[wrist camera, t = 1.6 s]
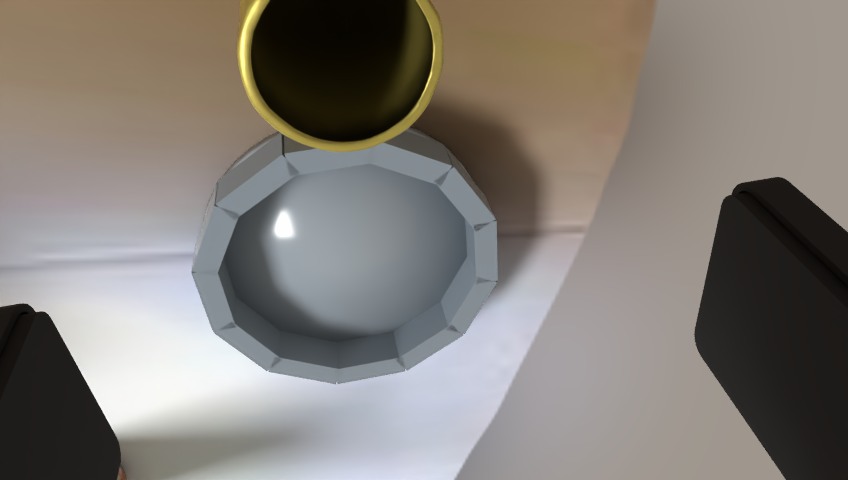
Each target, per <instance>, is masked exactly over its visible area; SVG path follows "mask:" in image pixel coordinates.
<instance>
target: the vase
mask: <svg viewBox="0 0 848 480" xmlns="http://www.w3.org/2000/svg"><path fill="white" fill-rule="evenodd" d="M237 58H238V66H239V70H240V74H241V78H242V82H243V85H244V88H245V91H246V93H247V95H248V98H249V100H250V101H251V103H252V105H253V107H254V108H255V109H256V110H257V112H258V113H259V114H260V115H261V116H262V117H263V118H264V119H265V120H266V121H267V122H268V123H269V124H270V125H272V126H273V127H274V128H275V129H276V130H278V131H279V132H280V133H282V134H283V135H285V136H287V137H289V138H290V139H293V140H295V141H297V142H299V143H301V144H304V145H307V146H310V147H313V148H317V149H320V150H325V151H331V152H351V151H359V150H365V149H368V148H372V147H375V146H377V145H379V144H381V143H384V142H386V141H388V140H390V139H392V138H394V137H396V136H397V135H399V134H401V133H402V132H404V131H405V130H407V129H408V128H409V127H410V126H411V125H412V124H413V123H414V122H415V121H416V120H417V119H418V118H419V117H420V115H421V114H422V113H423V112H424V110H425V109H426V107H427V106H428V104H429V102H430V100H431V98H432V95H433V93H434V90H435V88H436V86H437V83H438V80H439V77H440V74H441V71H442V66H443V32H442V25H441V20H440V16H439V14H438V12H437V11H436V9H435V7H434V6H433V4H432V3H431V1H430V0H240V20H239V29H238V38H237Z"/></svg>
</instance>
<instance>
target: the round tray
mask: <svg viewBox="0 0 848 480" xmlns="http://www.w3.org/2000/svg"><path fill="white" fill-rule="evenodd" d="M192 276H193V278H194V281H195V284H196V287H197V289H198V292H199V295H200V297H201V300H202V303H203V306H204V308H205V311H206V314H207V316H208V319H209V322H210V325H211V327H212V330H213V332H214V333H215V334H216V335H218V336H219V337H220V338H222V339H223V340H225V341H226V342H227V343H229V344H230V345H231V346H233V347H234V348H236V349H237V350H238V351H240V352H241V353H243V354H244V355H245V356H247V357H248V358H249V359H251V360H252V361H254V362H255V363H256V364H258V365H259V366H261V367H262V368H263V369H265V370H266V371H267V370H269V372H273V373H278V374H284V375H289V376H295V377H300V378H306V379H311V380H317V381H322V382H327V383H333V384H336V382H337V383H338V384H340V383H345V382H351V381H356V380H361V379H367V378H372V377H377V376H382V375H388V374H393V373H398V372H403V371H405V369H406V370H409V369H410V368H412V367H413V366H415V365H417V364H418V363H420V362H421V361H423V360H425V359H426V358H428V357H429V356H431V355H433V354H434V353H436V352H437V351H439V350H441V349H442V348H444V347H445V346H447V345H449V344H450V343H452V342H453V341H455V340H457V339H458V338H460V337H461V336H463V334H465V333H466V331H467V329H468V328H469V326H470V325H471V323H472V321H473V320H474V318H475V317H476V315H477V314H478V312H479V310H480V309H481V307H482V306H483V304H484V303H485V301H486V299H487V298H488V296H489V295H490V293H491V291H492V290H493V288H494V287H495V285H496V284H497V281H498V262H497V221H496V218H495V216H494V214H493V212H492V209H491V207H490V205H489V203H488V201H487V199H486V197H485V195H484V194H483V193H482V191H481V190H480V189H479V188H478V186H477V185H476V184H475V183H474V181H473V180H472V178H471V176H470V175H469V173H468V172H467V170H466V169H465V167H464V166H463V164H462V163H461V162H460V161H459V160H458V159H457V158H456V157H455V155H454V154H453V153H452V152H451V151H449V150H448V149H447V147H446V146H444V145H443V144H442V143H440V142H438V141H437V140H435V139H434V138H432V137H430V136H428V135H427V134H425V133H423V132H422V131H419V130H417V129H415V128H412V127H409V128H408V129H407V130H405V131H404V132H402V133H401V134H399V135H397V136H396V137H394V138H392V139H390V140H388V141H386V142H384V143H381V144H379V145H377V146H375V147H372V148H368V149H365V150H359V151H351V152H331V151H325V150H320V149H317V148H313V147H310V146H307V145H304V144H301V143H299V142H297V141H295V140H293V139H290V138H289V137H287V136H285V135H283V134H282V133H280V132H277V133H275V134H273V135H271V136H269V137H267V138H265V139H263V140H262V141H260V142H259V143H257V144H256V145H254V146H253V147H251V148H250V149H249V150H248V151H246V152H245V153H244V154H243V155H242V156H241V157H240V158H238V159H237V160H236V161H235V162H234V163H233V165H232V166H231V167H230V168H229V169H228V170H227V171H226V173H225V174H224V175H223V177H222V178H220V179H219V180H218V182H217V184H216V187H215V189H214V191H213V193H212V196H211V198H210V200H209V203H208V205H207V208H206V212H205V216H204V220H203V224H202V227H201V230H200V233H199V236H198V239H197V242H196V245H195V252H194V258H193V265H192Z"/></svg>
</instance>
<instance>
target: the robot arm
mask: <svg viewBox="0 0 848 480" xmlns="http://www.w3.org/2000/svg"><path fill="white" fill-rule="evenodd" d="M695 342H696V346H697V349H698V351H699V353H700V355H701V357H702V358H703V360H704V361H705V363H706V364H707V365H708V367H709V368H710V370H711V371H712V373H713V374H714V376H715V377H716V378H717V380H718V381H719V383H720V384H721V386H722V387H723V388H724V390H725V392H726V393H727V395H728V396H729V397H730V399H731V400H732V402H733V403H734V405H735V406H736V408H737V409H738V410H739V412H740V413H741V415H742V416H743V418H744V419H745V421H746V422H747V424H748V425H749V426H750V428H751V429H752V431H753V432H754V434H755V435H756V436H757V438H758V440H759V441H760V442H761V444H762V445H763V447H764V448H765V450H766V451H767V452H768V454H769V456H770V457H771V458H772V460H773V461H774V463H775V464H776V466H777V467H778V469H779V470H780V471H781V473H782V474H783V476H784V477H785V479H786V480H848V232H847V231H846V230H844V229H843V228H842V227H841V226H839V224H837V223H836V222H835V221H834V220H833V219H832V218H830V217H829V216H828V215H827V214H826V213H824V211H822V210H821V209H820V208H819V207H818V206H816V205H815V204H814V203H813V202H812V201H811V200H810V199H808V198H807V197H806V196H805V195H804V194H803V193H801V192H800V191H799V190H798V189H797V188H796V187H794V186H793V185H792V184H791V183H790V182H789V181H787V180H786V179H784V178H780V177H775V178H769V179H763V180H757V181H751V182H745V183H741V184H738V185H737V186H736V187H735V188H734V190H733V192H732V195H729V196H727V197H726V198H725V199H724V200H723V202H722V205H721V210H720V215H719V219H718V224H717V228H716V234H715V238H714V243H713V247H712V252H711V257H710V261H709V266H708V271H707V275H706V280H705V285H704V290H703V294H702V299H701V303H700V308H699V313H698V317H697V322H696V327H695ZM120 462H121V453H120V446H119V442H118V440H117V437H116V436H115V434H114V432H113V430H112V428H111V426H110V425H109V423H108V421H107V419H106V417H105V416H104V414H103V412H102V410H101V408H100V406H99V405H98V403H97V401H96V399H95V397H94V396H93V394H92V392H91V390H90V388H89V386H88V385H87V383H86V381H85V379H84V377H83V376H82V374H81V372H80V370H79V368H78V366H77V365H76V363H75V361H74V359H73V357H72V356H71V354H70V352H69V350H68V348H67V346H66V345H65V343H64V341H63V339H62V337H61V336H60V334H59V332H58V330H57V328H56V326H55V325H54V323H53V321H52V319H51V318H50V316H49V315H48V314H47V313H45V312H35V311H34V309H33V308H32V307H31V306H29V305H28V304H23V303H22V304H16V305H10V306H4V307H0V480H117V477H118V473H119V468H120Z"/></svg>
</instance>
